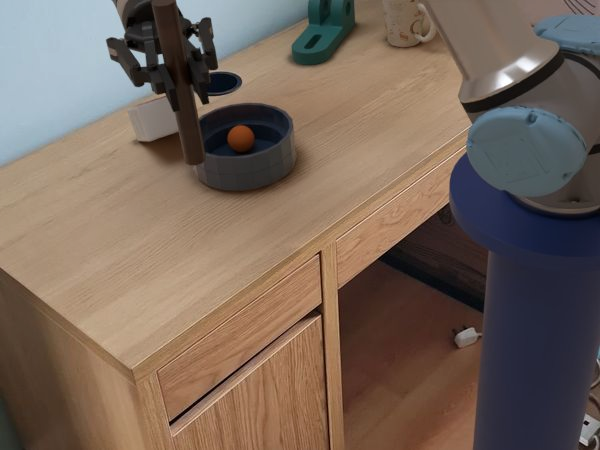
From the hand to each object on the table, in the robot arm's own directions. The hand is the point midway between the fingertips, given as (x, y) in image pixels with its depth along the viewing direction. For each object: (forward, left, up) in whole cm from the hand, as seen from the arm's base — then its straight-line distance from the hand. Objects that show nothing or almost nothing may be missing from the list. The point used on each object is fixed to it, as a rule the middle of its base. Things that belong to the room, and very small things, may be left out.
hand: (189, 96), depth 84 cm
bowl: (+16, -16, -24) cm, 33 cm away
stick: (+5, -2, -11) cm, 13 cm away
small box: (+35, -13, -22) cm, 43 cm away
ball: (+18, -18, -21) cm, 33 cm away
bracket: (+37, -51, -24) cm, 68 cm away
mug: (+24, -61, -24) cm, 70 cm away
